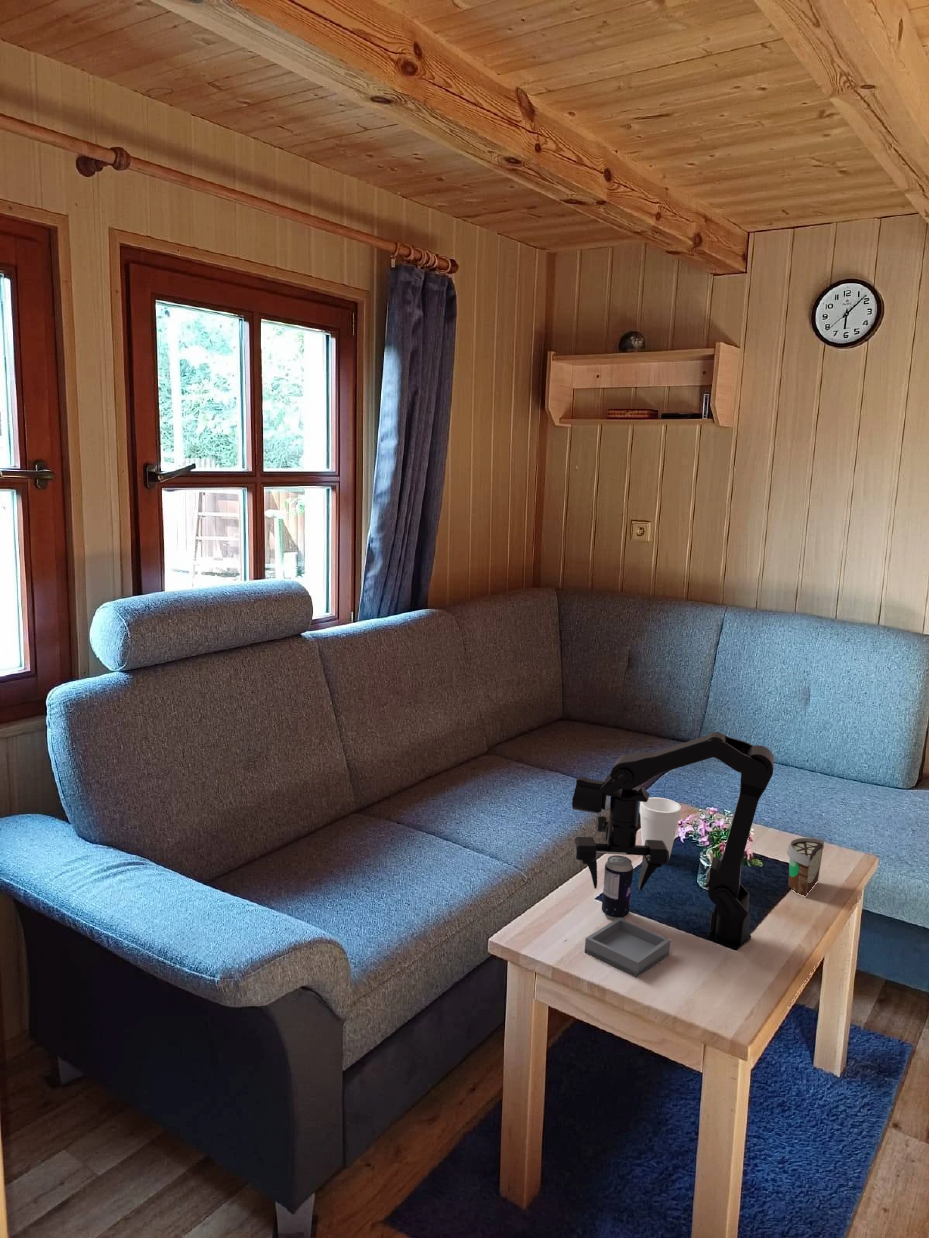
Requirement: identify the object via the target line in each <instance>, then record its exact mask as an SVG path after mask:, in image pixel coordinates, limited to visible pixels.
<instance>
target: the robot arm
mask: <svg viewBox="0 0 929 1238" xmlns="http://www.w3.org/2000/svg"><path fill="white" fill-rule="evenodd" d="M711 758H715V759H717V760H718V761H720V762H722V763H723V764H725V765H726V766H728V767H729V768H731V769H732V770H734V771H736V772H738V773H740V785H739V786H740V788H739V794H738V799H737V802H736V806H735V809H734V813H733V817H732V821H731V823H730V827H729V831H728V835H727V839H726V841H725V847H724V849H723V853H722V854H721V856H720V858H717V857H715V856H712V859H711V864H710V870H709V871H708V872H707V876H706V881H705V888H707V896H708V898H709V899H710V901H711V903H713V904H714V906H713V908H714V909H713V910H712V911H711V913H710V914H711V916H710V924H709V931H710V932H709V933H708V934H707V938H708V939H711V940H713V941H716V942H718V943H719V944H722V945H725V946H728V947H729V948H731V949H734V950H739V949H740V948H742V947H743V946H744V945H745V944H746V943H747V942H749V941H750V940H751V939H752V935H751V934H749V929H750V924H751V922H750V920H751V915H752V914H751V911H749V902H750V897H751V895H750V893H749V891H748V890H747V889H746V887H745V886H743V884H742V883H741V875H742V863H743V858H744V855H745V851H746V847H747V842H748V840H749V838H750V837H749V836H750V834H751V833H750V832H751V829H752V825H753V823H754V818H755V814H756V811H757V808H758V803H759V800H760V799H761V797H762V796H763V794H764V792H765V791H766V789H767V787H768V785H769V783H770V782H771V780H772V779H771V778H772V777H773V775H774V768H775V767H774V766H775V765H774V763H775V756H774V755H773V753H772V751H771V750H770V749H769V748H768V747H767V746H763V745H759V744H757V745H752V744H751V743H748V742H747V741H744V740H741V739H737V738H734V737H730V736H727V735H726V734H723V733H721V732H717V731H715V732H713V731H712V732H711V733H710V734H707V735H705V736H701V737H699V738H696V739H691V740H689V741H685V742H682V743H678V744H676V745H673V746H669V747H667V748H664V749H663V748H662V749H660V750H657V751H653V752H641V751H640V752H633V753H626V754H623V755H621V756H619V757H618V758H617V760H616V761H615V763H614V765H613V766H612V768H611V771H610V774H609V775H607V776H606V777H605V779H604V780H597V779H591V778H587V777H583V776H578V778H577V779H576V784H575V787H574V790H573V791H574V792H573V795H572V798H571V799H572V800H571V807H572V810H573V811H580V812H584V813H591V814H597V815H596V823H595V831H596V832H597V833H604V841H606V843H597V842H595V838H594V837H592V836H576V837H575V838H574V840H573V847H572V849H573V853H574V857H575V859H576V860H578V861H581V863H582V864H583V865H587V868H588V869H589V873H590V875H591V880H592V884H593V888H594V889H595V890H597V889H598V888H597V887H598V862H597V859H596V857H597V854H606V855H622V856H624V855H625V856H627V855H630V856H642V858H641V859H642V862H641V868H640V874H639V879H638V890H639V891H640V892H642V890H643V889H644V887H645V885H646V884H647V883H648V881H649V879H650V877H651V876H652V875H653V873H654V872H655V871H656V870H657V869H658V868H660V869H661V868H662V865H667V864H669V862H670V858H669V851H668V849H667V847H666V845H665V843H664V842H663V841H662V840H646V841H645V846H642V845H641V844H640V845H639V844H638V845H637V844H636V843H637V834H638V820H639V811H640V802H647V801H648V798H650V797H651V794H650V793H649V792H648V791H647V790H646V789H645V787H644V786H643V784H645V783H646V782H648V781H649V780H651V779H652V778H654V777H657V776H658V775H660V774H662V773H666V772H669V771H672V770H676V769H678V768H683V767H686V766H689V765H693V764H695V763H699V762H702V761H705V760H708V759H711ZM639 786H640V787H639ZM636 787H638V788H636ZM609 800H610V802H609ZM609 803H610V804H609ZM608 806H609V816H608V820H607V816H600V815H601V814H602V812H603V810H604V811H607V809H608Z"/></svg>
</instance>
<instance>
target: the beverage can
mask: <svg viewBox="0 0 929 1238" xmlns="http://www.w3.org/2000/svg"><path fill="white" fill-rule="evenodd" d="M633 874H634V866H633V862H632V859H630V858H629V857H627V856H624V855H620V854H613V855H611V856H608V858H607V861H606V862H605V864H604V874H603V875H604V876H603V877H604V878H603V888H602V899H601V911H602V912H603V913H604V915H605V916H606V917H607V918H608V917H609V918H608V919H611V920H616V919H618V918H619V917H620V918H622V919H625V918H626V917H628V916H629V914H630V909H631V900H632V899H631V897H632V887H633V885H632V884H633Z"/></svg>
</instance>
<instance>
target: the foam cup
mask: <svg viewBox="0 0 929 1238" xmlns="http://www.w3.org/2000/svg"><path fill="white" fill-rule="evenodd" d="M638 813H639V815H640V816H639V817H640V835H641V846H645V841H646V840H662V841H663V842H664V843H665V845H666V847H667V849H668V851H669V859H670V857H671V854H672V850H673V845H674V843H675V842H674V841H675V838H676V837H675V836H676V832H677V828H678V824H679V820H680V819H681V815H682V806H681V805H680V803H679V802H677V801H675V800H673V799H668V798H665V797H658V796H657V797H654V796H653V797H649V798H648V801H647V802H641V801H639V810H638Z"/></svg>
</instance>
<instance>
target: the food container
mask: <svg viewBox="0 0 929 1238" xmlns="http://www.w3.org/2000/svg"><path fill="white" fill-rule="evenodd" d="M824 842H825V840H824V839H820V838H814V837H799V838H795V839H793V840H791V842H790V843H789V844H788V848H787V850H786V854H787V856H788V857H789V862H788V864H789V867H788V868H789V869H788V888H789V887H790V888H791V889H792V890H794V891H795V892H796V893H799V894H801V895H804V896H806V895H807V893H809V891H810V890H811V889H812V887H813V886H814V885H815V883H816V882H817V881H818V882H819V879H820V878H819V877H820V870H821V862H822V859H823V851H824V850H823V849H824V848H825V843H824ZM809 894H810V893H809Z"/></svg>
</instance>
